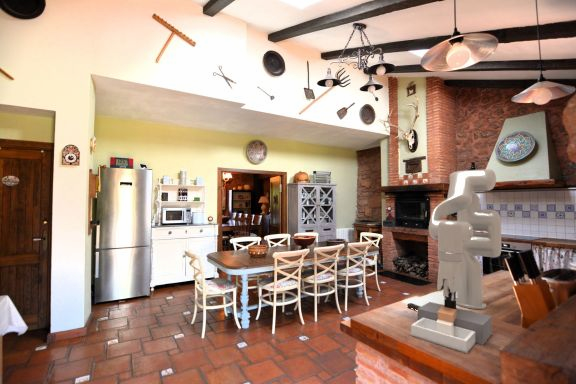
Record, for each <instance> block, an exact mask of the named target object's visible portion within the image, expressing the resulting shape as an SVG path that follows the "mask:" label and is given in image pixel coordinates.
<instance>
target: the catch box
mask: <svg viewBox="0 0 576 384" xmlns="http://www.w3.org/2000/svg"><path fill="white" fill-rule="evenodd" d="M410 336H411V337H414V338H417V339H420V340H423V341H425V342H429V343H432V344H435V345H438V346H441V347H444V348H448V349H449V350H450V349H451V350H453V351H457V352H460V353H463V354H468V353H469V351H470V350H471V349H472V348H473V347H474V345H475V344H477V343H476V336H475V331H471V330H467V329H464V328H460V327H456V326H454V336H450V335H447V334H444V333H440V332H437V327H436V321H434V320H430V319H427V318H421V319H420V320H418V319H417V321H415V322H413V323H412V324H411V325H410Z"/></svg>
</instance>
